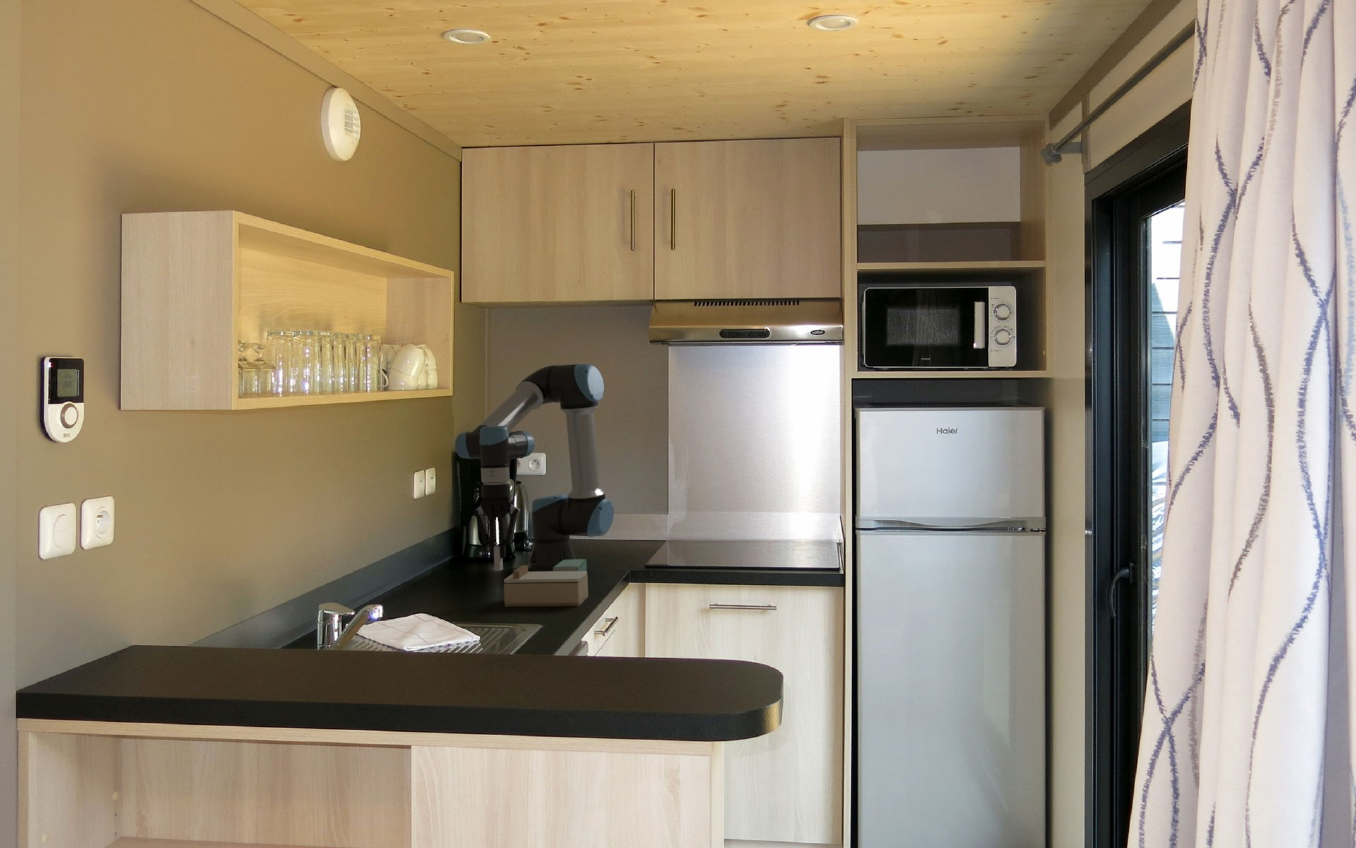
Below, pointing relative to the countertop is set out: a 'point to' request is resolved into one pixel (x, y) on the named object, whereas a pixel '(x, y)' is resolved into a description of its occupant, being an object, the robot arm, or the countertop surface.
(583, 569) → the box
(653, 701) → the countertop surface
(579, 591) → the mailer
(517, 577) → the lid
